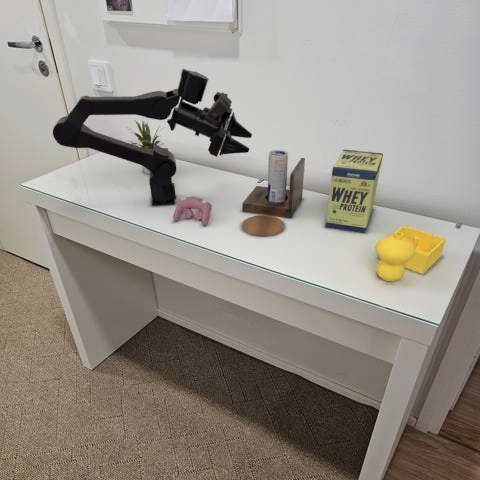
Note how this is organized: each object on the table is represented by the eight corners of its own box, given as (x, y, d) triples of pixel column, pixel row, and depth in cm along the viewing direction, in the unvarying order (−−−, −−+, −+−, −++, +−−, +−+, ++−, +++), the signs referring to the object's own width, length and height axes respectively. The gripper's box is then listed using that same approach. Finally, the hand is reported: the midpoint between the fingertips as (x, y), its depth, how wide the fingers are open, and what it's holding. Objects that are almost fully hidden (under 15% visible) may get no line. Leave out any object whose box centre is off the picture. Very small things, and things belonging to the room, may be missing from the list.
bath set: (399, 242, 107) (409, 200, 100) (440, 256, 102) (454, 213, 95) (357, 276, 95) (365, 232, 89) (402, 294, 90) (414, 248, 83)
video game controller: (211, 226, 119) (214, 199, 117) (205, 226, 114) (208, 198, 113) (178, 221, 121) (181, 195, 120) (171, 220, 117) (173, 194, 115)
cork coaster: (245, 238, 110) (245, 236, 110) (239, 218, 118) (239, 216, 118) (288, 234, 111) (288, 232, 111) (279, 215, 119) (279, 213, 119)
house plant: (119, 170, 148) (109, 119, 138) (153, 160, 156) (146, 111, 145) (142, 181, 140) (134, 128, 130) (177, 170, 147) (171, 119, 137)
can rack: (242, 211, 122) (242, 203, 120) (256, 193, 131) (256, 185, 130) (291, 218, 118) (292, 209, 117) (302, 199, 128) (302, 191, 126)
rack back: (287, 217, 118) (290, 174, 111) (298, 198, 128) (301, 157, 120) (291, 218, 118) (294, 174, 111) (301, 199, 128) (305, 157, 120)
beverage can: (285, 202, 126) (288, 149, 117) (285, 209, 122) (287, 155, 113) (267, 201, 127) (269, 149, 117) (266, 209, 123) (268, 155, 113)
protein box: (324, 227, 114) (331, 168, 104) (335, 203, 125) (343, 148, 115) (365, 233, 111) (376, 173, 101) (373, 208, 122) (383, 152, 112)
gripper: (199, 102, 103) (259, 129, 106) (210, 77, 116) (264, 102, 119) (186, 145, 111) (242, 169, 114) (198, 117, 124) (248, 139, 127)
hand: (250, 143), depth 118 cm, fingers open, 9 cm apart
